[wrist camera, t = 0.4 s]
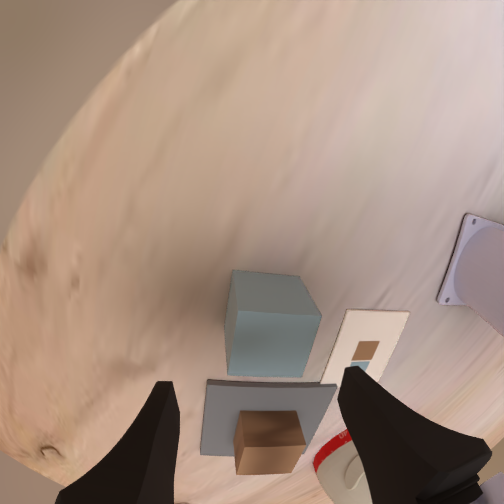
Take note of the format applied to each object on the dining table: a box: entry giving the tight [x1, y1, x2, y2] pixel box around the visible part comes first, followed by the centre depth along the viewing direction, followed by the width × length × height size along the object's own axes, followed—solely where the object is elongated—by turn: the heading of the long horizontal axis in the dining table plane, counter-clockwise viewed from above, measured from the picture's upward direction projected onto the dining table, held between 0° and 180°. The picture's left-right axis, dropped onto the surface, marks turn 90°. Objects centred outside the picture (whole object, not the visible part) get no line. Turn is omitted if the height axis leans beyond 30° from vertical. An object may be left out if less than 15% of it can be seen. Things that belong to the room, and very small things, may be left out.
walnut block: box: [233, 410, 306, 475], centre depth 24 cm, size 5×5×4 cm
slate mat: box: [200, 380, 338, 456], centre depth 26 cm, size 11×11×1 cm
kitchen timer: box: [313, 429, 372, 504], centre depth 24 cm, size 14×14×15 cm
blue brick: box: [224, 270, 322, 377], centre depth 19 cm, size 4×4×5 cm
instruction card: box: [320, 309, 410, 387], centre depth 24 cm, size 6×8×1 cm
